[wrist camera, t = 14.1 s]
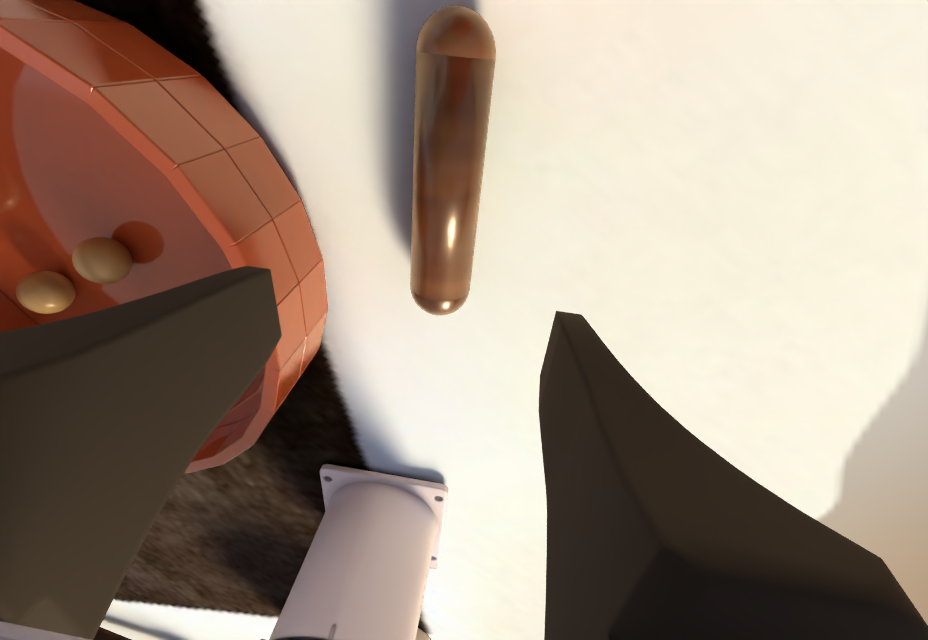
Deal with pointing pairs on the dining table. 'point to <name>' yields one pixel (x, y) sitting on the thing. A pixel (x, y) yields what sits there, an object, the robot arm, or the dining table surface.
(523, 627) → the dining table surface
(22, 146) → the bowl
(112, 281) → the bead
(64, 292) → the bead
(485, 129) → the stick
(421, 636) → the lumpy-topped squat cylinder
